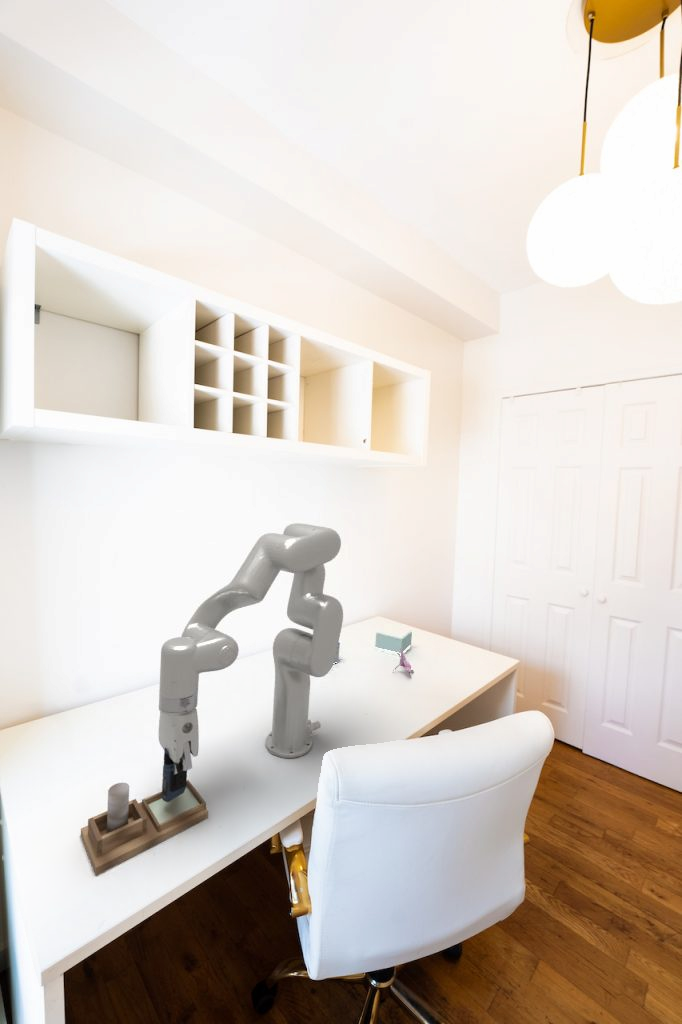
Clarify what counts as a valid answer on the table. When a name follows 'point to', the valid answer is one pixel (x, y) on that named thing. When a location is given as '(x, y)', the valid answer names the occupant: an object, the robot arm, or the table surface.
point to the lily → (403, 661)
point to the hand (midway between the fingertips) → (174, 783)
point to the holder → (138, 824)
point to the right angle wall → (393, 642)
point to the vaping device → (167, 770)
